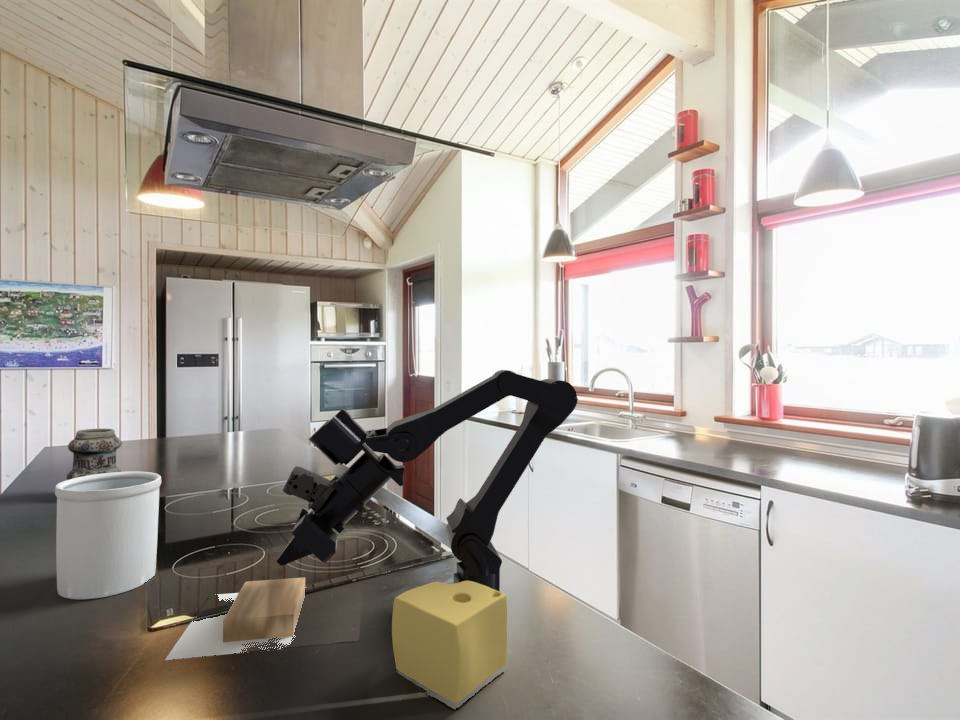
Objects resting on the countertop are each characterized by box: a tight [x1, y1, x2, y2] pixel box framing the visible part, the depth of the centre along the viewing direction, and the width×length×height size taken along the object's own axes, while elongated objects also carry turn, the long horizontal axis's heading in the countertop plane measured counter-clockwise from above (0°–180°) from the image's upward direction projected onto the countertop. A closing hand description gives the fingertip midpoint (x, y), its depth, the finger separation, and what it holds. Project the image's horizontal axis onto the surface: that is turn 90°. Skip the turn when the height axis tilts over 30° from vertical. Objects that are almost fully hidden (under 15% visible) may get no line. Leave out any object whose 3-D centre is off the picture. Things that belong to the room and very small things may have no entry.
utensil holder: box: [54, 470, 162, 600], centre depth 88 cm, size 15×15×18 cm
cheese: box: [391, 581, 508, 703], centre depth 63 cm, size 10×11×10 cm
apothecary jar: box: [66, 428, 123, 480], centre depth 141 cm, size 12×12×18 cm
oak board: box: [223, 576, 306, 642], centre depth 76 cm, size 3×12×9 cm
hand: (279, 562), depth 76 cm, fingers closed
